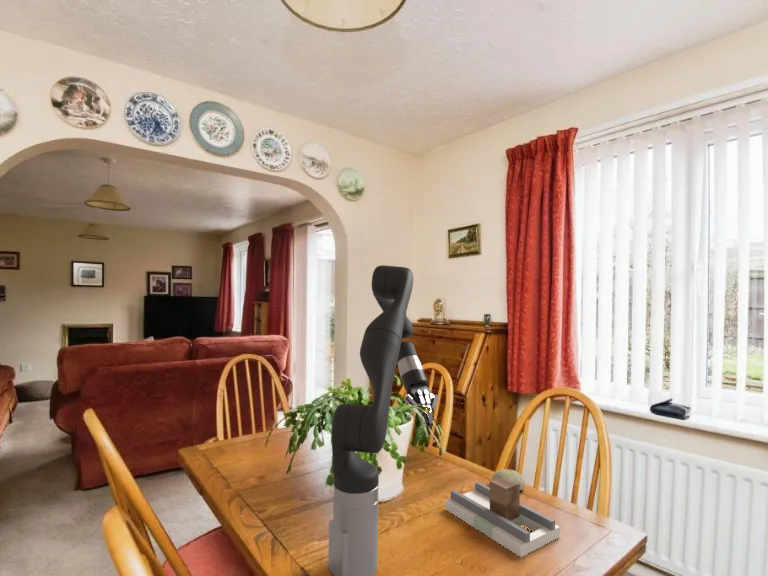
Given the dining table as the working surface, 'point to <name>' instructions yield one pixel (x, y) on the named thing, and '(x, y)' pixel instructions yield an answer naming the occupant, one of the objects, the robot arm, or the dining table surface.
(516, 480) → the sea urchin shell
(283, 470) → the dining table surface
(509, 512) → the walnut block
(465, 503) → the lane deck
